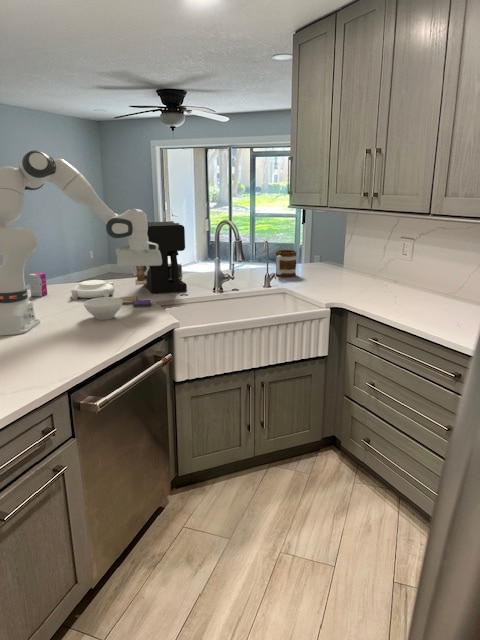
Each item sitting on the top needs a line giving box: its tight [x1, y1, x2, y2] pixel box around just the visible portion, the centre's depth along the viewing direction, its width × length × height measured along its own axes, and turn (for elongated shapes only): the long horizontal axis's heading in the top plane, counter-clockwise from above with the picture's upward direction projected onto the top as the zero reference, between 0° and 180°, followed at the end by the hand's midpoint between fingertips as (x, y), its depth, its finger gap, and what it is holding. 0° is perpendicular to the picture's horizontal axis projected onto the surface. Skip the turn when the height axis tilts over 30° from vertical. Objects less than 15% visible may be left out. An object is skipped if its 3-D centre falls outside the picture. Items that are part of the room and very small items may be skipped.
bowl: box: [83, 296, 123, 321], centre depth 195 cm, size 16×16×7 cm
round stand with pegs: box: [71, 279, 115, 301], centre depth 234 cm, size 24×24×7 cm
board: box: [116, 296, 139, 306], centre depth 222 cm, size 12×12×1 cm
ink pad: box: [132, 299, 152, 308], centre depth 216 cm, size 8×8×2 cm
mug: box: [275, 249, 298, 279], centre depth 279 cm, size 20×14×15 cm
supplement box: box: [28, 272, 48, 298], centre depth 232 cm, size 6×6×12 cm
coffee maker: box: [143, 220, 188, 295], centre depth 243 cm, size 28×20×35 cm
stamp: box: [135, 266, 147, 286], centre depth 211 cm, size 5×5×9 cm
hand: (140, 275), depth 211 cm, fingers closed on stamp, 3 cm apart
